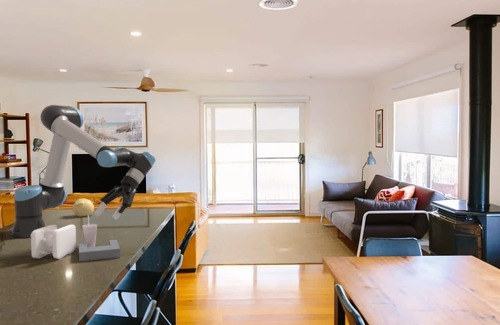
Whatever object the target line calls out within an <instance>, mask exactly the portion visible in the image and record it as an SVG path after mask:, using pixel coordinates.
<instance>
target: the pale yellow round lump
mask: <svg viewBox="0 0 500 325" xmlns="http://www.w3.org/2000/svg"><path fill="white" fill-rule="evenodd" d="M72 212H73V214H74V215H75V216H77V217H78V218H83V217H88V215H89V216H92V215H94V212H95V205H94V203H93V202H92V201H91V200H90V199H88V198H83V197H82V198H78V199H77V200H76V201H75V202H74V203H73V205H72Z"/></svg>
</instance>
